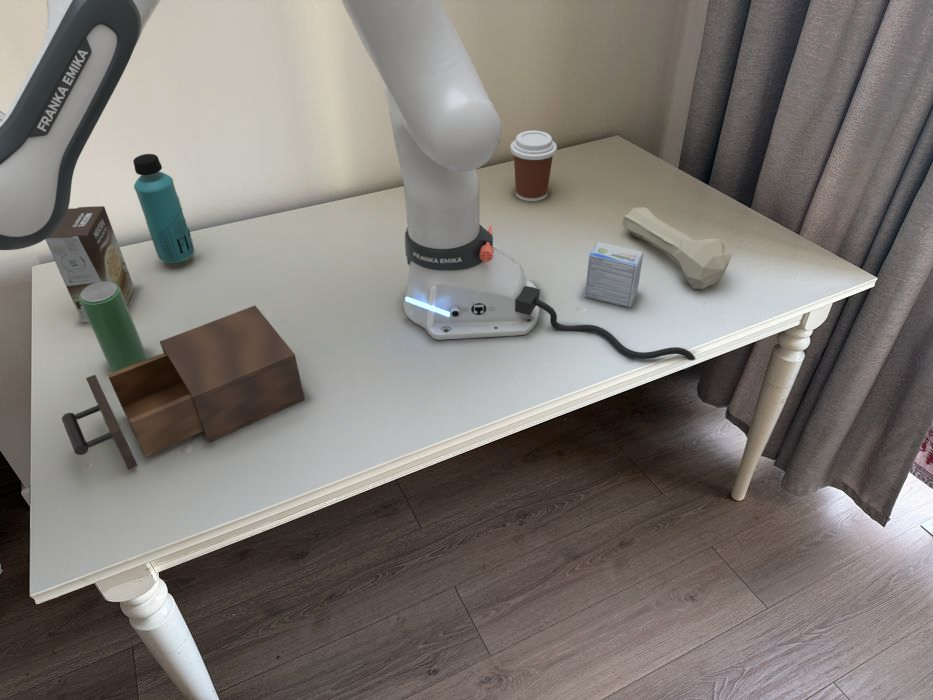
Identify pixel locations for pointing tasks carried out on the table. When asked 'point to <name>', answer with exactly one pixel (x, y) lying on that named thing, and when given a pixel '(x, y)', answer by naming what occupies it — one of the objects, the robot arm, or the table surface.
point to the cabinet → (235, 371)
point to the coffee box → (88, 253)
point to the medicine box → (613, 274)
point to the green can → (112, 325)
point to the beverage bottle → (162, 210)
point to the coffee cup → (532, 164)
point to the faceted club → (681, 248)
